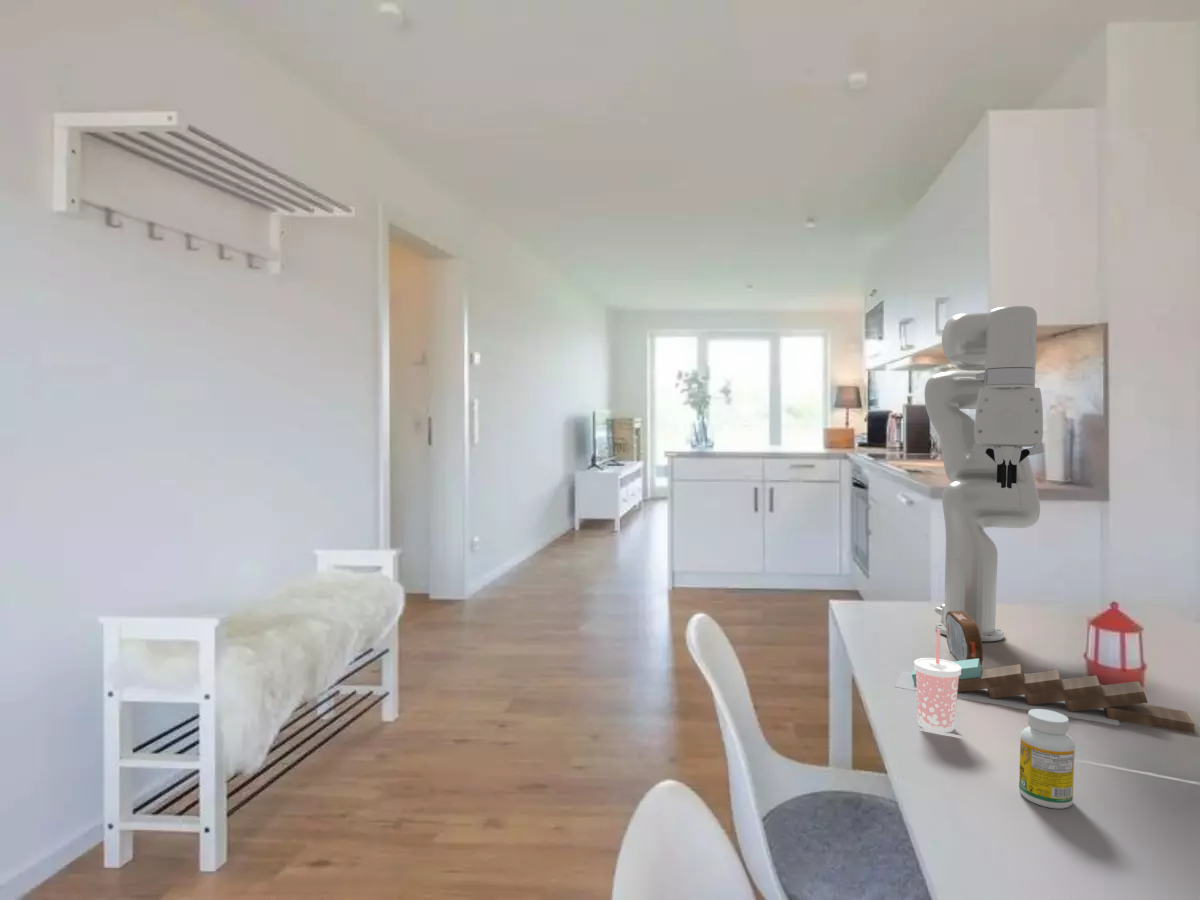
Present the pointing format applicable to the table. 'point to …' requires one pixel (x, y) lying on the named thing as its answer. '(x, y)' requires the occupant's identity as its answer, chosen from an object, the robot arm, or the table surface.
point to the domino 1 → (964, 669)
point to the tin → (963, 636)
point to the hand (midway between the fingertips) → (1006, 487)
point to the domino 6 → (1151, 716)
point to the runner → (1016, 702)
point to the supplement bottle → (1047, 760)
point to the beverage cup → (936, 692)
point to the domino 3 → (1030, 685)
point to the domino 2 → (993, 678)
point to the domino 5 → (1111, 697)
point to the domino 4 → (1069, 691)
